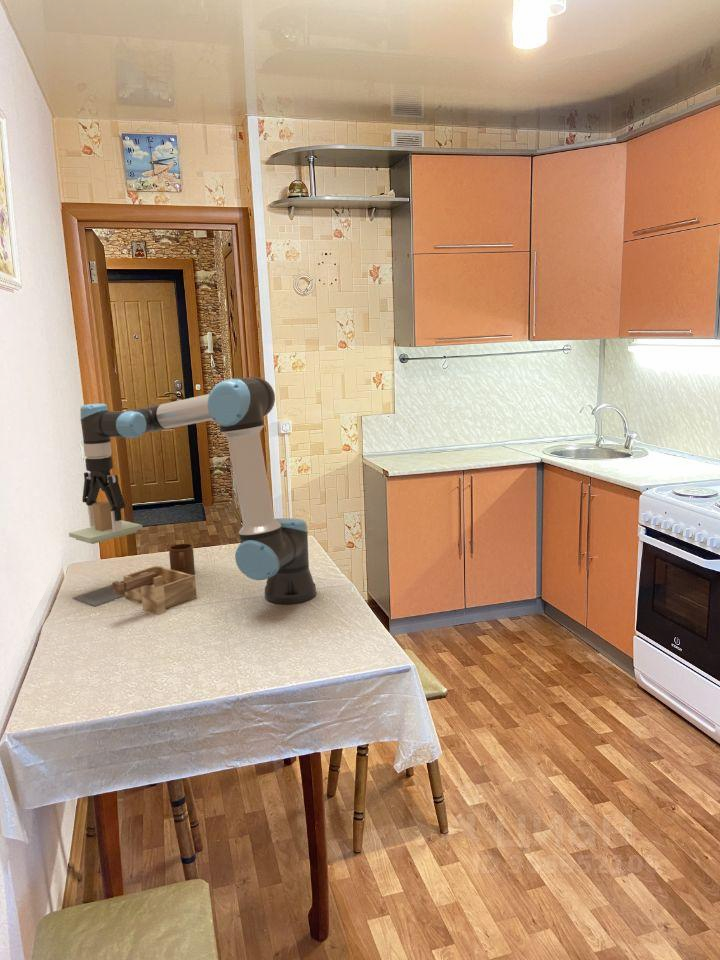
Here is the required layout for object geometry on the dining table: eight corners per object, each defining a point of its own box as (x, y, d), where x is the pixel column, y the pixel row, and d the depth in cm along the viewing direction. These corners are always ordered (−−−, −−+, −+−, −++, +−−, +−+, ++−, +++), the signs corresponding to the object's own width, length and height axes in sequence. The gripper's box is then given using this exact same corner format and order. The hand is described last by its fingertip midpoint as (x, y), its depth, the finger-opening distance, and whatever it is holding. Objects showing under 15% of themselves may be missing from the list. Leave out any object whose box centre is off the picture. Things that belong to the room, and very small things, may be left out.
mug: (195, 580, 227) (193, 552, 225) (171, 583, 225) (168, 554, 223) (194, 569, 238) (192, 542, 236) (171, 572, 236) (168, 544, 235)
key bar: (158, 582, 200) (157, 572, 200) (120, 595, 191) (119, 584, 190) (150, 580, 203) (149, 570, 202) (113, 593, 193) (112, 582, 193)
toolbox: (199, 598, 210) (196, 564, 208) (158, 614, 199) (155, 578, 197) (159, 587, 222) (156, 554, 220) (118, 601, 211) (114, 567, 209)
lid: (90, 545, 205) (87, 511, 203) (69, 540, 211) (65, 506, 210) (142, 531, 218) (139, 499, 216) (121, 526, 225) (118, 495, 223)
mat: (152, 586, 222) (152, 585, 222) (94, 606, 207) (94, 605, 207) (129, 580, 230) (129, 578, 230) (72, 598, 214) (71, 597, 214)
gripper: (133, 457, 206) (140, 531, 210) (87, 452, 220) (95, 520, 224) (110, 461, 200) (118, 536, 204) (65, 455, 214) (73, 526, 219)
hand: (106, 528), depth 214 cm, fingers closed on lid, 11 cm apart
